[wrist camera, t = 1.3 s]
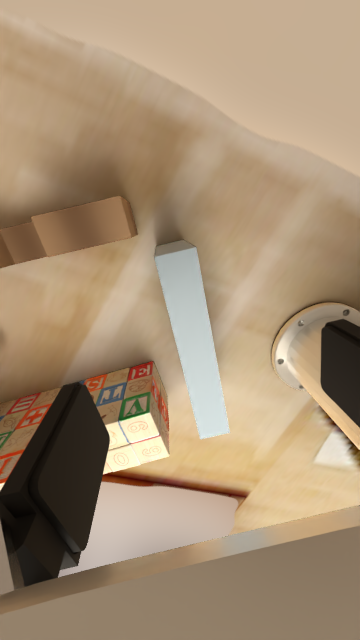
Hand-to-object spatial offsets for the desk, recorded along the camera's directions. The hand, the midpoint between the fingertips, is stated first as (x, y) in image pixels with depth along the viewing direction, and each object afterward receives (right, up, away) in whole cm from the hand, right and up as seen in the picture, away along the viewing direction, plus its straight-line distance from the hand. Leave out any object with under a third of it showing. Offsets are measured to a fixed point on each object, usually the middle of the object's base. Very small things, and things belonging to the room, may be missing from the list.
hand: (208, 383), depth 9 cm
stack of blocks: (-14, -8, +22) cm, 28 cm away
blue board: (0, +2, +19) cm, 19 cm away
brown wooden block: (-15, +11, +14) cm, 23 cm away
